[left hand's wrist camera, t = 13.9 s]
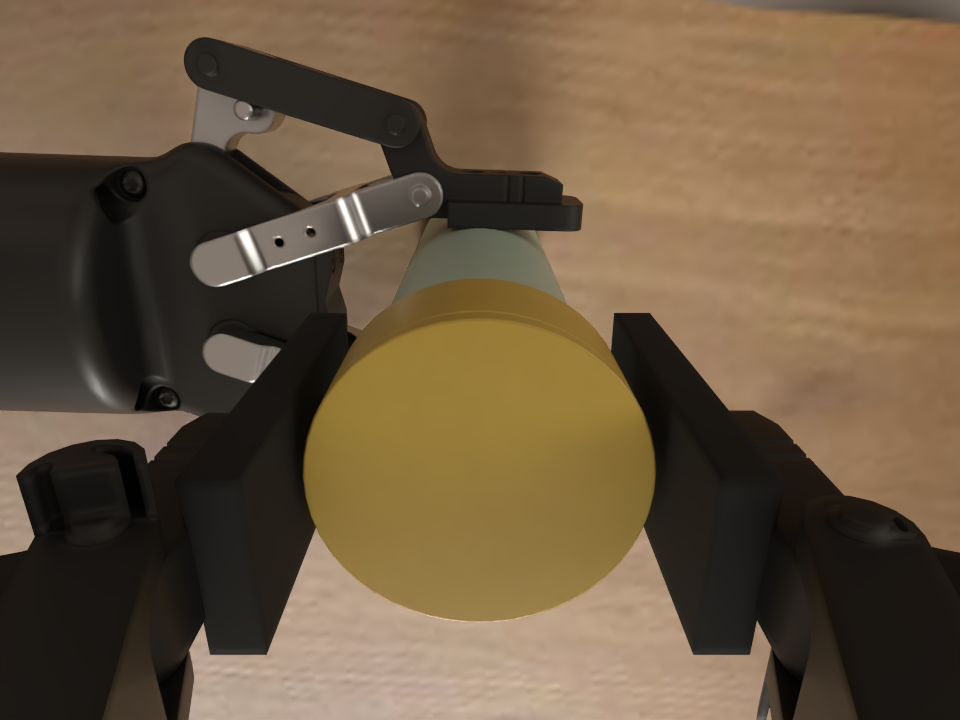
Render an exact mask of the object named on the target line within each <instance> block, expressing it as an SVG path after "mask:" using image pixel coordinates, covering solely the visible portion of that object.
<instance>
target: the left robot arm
mask: <svg viewBox="0 0 960 720" xmlns="http://www.w3.org/2000/svg"><path fill="white" fill-rule="evenodd" d="M348 351H349V347H348V334H347V322H346V313H310V314H309V315H308V317H307V318H306V319H305V320H304V321H303V323H302V324H301V325H300V326H299V328H298V329H297V330H296V331H295V333H294V334H293V335H292V336H291V337H290V339H289V340H288V341H287V342H286V344H285V345H284V346H283V347H282V349H281V350H280V351H279V352H278V354H277V355H276V356H275V357H274V358H273V360H272V361H271V362H270V363H269V365H268V366H267V367H266V368H265V370H264V371H263V372H262V373H261V374H260V376H259V377H258V378H257V379H256V381H255V382H254V383H253V384H252V386H251V387H250V388H249V389H248V390H247V392H246V393H245V394H244V395H243V397H242V398H241V399H240V400H239V402H238V403H237V404H236V405H235V406H234V408H233V409H232V410H231V411H230V413H206V414H204V415H202V416H200V417H199V418H197V419H195V420H193V421H192V422H190V423H188V424H186V425H184V426H183V427H182V428H181V429H180V430H179V431H178V432H177V433H176V434H175V435H174V436H173V437H172V438H171V439H170V441H169V442H168V443H167V446H164V447H163V448H162V449H161V450H160V451H159V452H158V454H157V455H156V456H155V457H154V458H155V459H154V460H151V461H150V462H149V463H147V458H146V454H145V449H144V448H143V447H141V446H140V445H138V444H137V443H135V442H131V441H126V440H120V439H110V440H94V441H89V442H84V443H79V444H74V445H70V446H68V447H65V448H62V449H59V450H56V451H53V452H50V453H48V454H46V455H44V456H42V457H41V458H39V459H37V460H35V461H33V462H31V463H29V464H28V465H27V466H26V467H25V468H24V469H23V470H22V471H21V472H20V473H18V474H17V475H16V478H17V481H18V484H19V487H20V490H21V494H22V497H23V500H24V503H25V506H26V510H27V513H28V516H29V519H30V523H31V526H32V529H33V532H34V535H35V538H34V539H33V541H32V543H31V545H30V547H29V548H28V550H26V551H22V552H17V553H12V554H7V555H2V556H0V720H188V719H189V712H190V704H191V697H192V690H193V683H194V673H193V666H192V661H191V657H190V652H189V649H190V647H191V645H192V643H193V641H194V639H195V637H196V636H197V634H198V632H199V630H200V628H201V626H202V624H203V622H204V627H205V632H206V637H207V641H208V646H209V651H210V655H267V652H268V650H269V647H270V644H271V642H272V639H273V637H274V634H275V632H276V629H277V626H278V624H279V621H280V619H281V616H282V613H283V611H284V608H285V606H286V603H287V601H288V598H289V595H290V593H291V590H292V588H293V585H294V583H295V580H296V577H297V575H298V572H299V570H300V567H301V564H302V562H303V559H304V557H305V554H306V552H307V549H308V546H309V544H310V541H311V539H312V536H313V534H314V531H315V528H316V526H315V524H314V522H313V519H312V517H311V514H310V510H309V507H308V503H307V500H306V496H305V489H304V481H303V456H304V450H305V445H306V439H307V435H308V432H309V429H310V426H311V423H312V420H313V417H314V415H315V413H316V411H317V410H318V408H319V406H320V404H321V402H322V400H323V398H324V396H325V394H326V392H327V391H328V389H329V387H330V385H331V383H332V381H333V379H334V377H335V375H336V374H337V372H338V370H339V368H340V366H341V364H342V362H343V360H344V358H345V357H346V355H347V353H348ZM611 353H612V355H613V357H614V358H615V360H616V362H617V364H618V366H619V368H620V370H621V372H622V373H623V375H624V377H625V379H626V381H627V383H628V385H629V387H630V389H631V390H632V392H633V394H634V396H635V398H636V400H637V402H638V404H639V405H640V407H641V409H642V411H643V413H644V416H645V418H646V421H647V424H648V426H649V429H650V432H651V435H652V440H653V445H654V450H655V460H656V479H655V489H654V495H653V499H652V503H651V507H650V511H649V514H648V516H647V519H646V521H645V523H644V528H645V531H646V533H647V536H648V539H649V541H650V544H651V546H652V549H653V552H654V554H655V557H656V559H657V562H658V564H659V567H660V570H661V572H662V575H663V577H664V580H665V582H666V585H667V588H668V590H669V593H670V595H671V598H672V601H673V603H674V606H675V608H676V611H677V613H678V616H679V619H680V621H681V624H682V626H683V629H684V631H685V634H686V637H687V639H688V642H689V644H690V647H691V650H692V652H693V655H750V651H751V646H752V642H753V637H754V632H755V627H756V622H757V621H758V623H759V625H760V626H761V628H762V630H763V632H764V634H765V636H766V638H767V639H768V641H769V643H770V645H771V647H772V648H771V652H770V657H769V661H768V666H767V670H766V675H765V679H764V684H763V688H762V693H761V697H760V702H759V706H758V713H757V720H766V718H767V714H768V710H769V708H770V710H771V717H772V720H960V553H959V552H953V551H948V550H943V549H938V548H934V547H931V545H930V544H929V542H928V540H927V538H926V536H925V535H924V534H923V533H922V532H921V530H920V529H919V528H918V527H917V526H916V525H915V524H914V523H913V522H912V521H910V520H909V519H907V518H906V517H904V516H903V515H901V514H900V513H898V512H896V511H895V510H892V509H890V508H888V507H885V506H883V505H880V504H878V503H876V502H873V501H869V500H865V499H861V498H856V497H852V496H844V495H843V494H842V493H841V491H840V490H839V489H838V488H837V487H836V486H835V485H834V484H833V483H832V482H831V481H830V480H829V479H828V477H827V476H826V475H825V474H824V473H823V472H822V471H821V470H820V469H819V468H818V467H817V466H816V465H815V464H814V462H813V461H812V460H811V459H810V458H806V454H805V453H804V452H803V451H802V450H801V448H800V447H799V446H798V445H797V444H794V443H793V440H792V439H791V438H790V437H789V436H788V435H787V433H786V432H785V431H784V430H783V429H782V428H781V427H780V426H779V425H778V424H776V423H775V422H773V421H771V420H769V419H767V418H766V417H764V416H762V415H760V414H758V413H757V412H755V411H729V410H728V409H727V408H726V406H725V405H724V404H723V403H722V402H721V400H720V399H719V398H718V397H717V395H716V394H715V393H714V392H713V390H712V389H711V388H710V387H709V386H708V384H707V383H706V382H705V381H704V379H703V378H702V377H701V376H700V374H699V373H698V372H697V371H696V370H695V368H694V367H693V366H692V365H691V363H690V362H689V361H688V360H687V358H686V357H685V356H684V355H683V353H682V352H681V351H680V350H679V349H678V347H677V346H676V345H675V344H674V342H673V341H672V340H671V339H670V337H669V336H668V335H667V334H666V333H665V331H664V330H663V329H662V328H661V326H660V325H659V324H658V323H657V321H656V320H655V319H654V318H653V317H652V315H651V314H650V313H614V322H613V335H612V347H611Z"/></svg>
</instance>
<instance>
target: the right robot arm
mask: <svg viewBox="0 0 960 720" xmlns="http://www.w3.org/2000/svg"><path fill="white" fill-rule="evenodd" d="M184 65H185V69H186V72H187V74H188V76H189V78H190V79H191V80H192V81H193V82H194V83H195V84H196V85H197V86H198V90H197V98H196V106H195V114H194V122H193V130H192V138H191V142H189V143H184V144H181V145H179V146H177V147H175V148H173V149H172V150H170V151H169V152H167V153H165V154H163V155H161V156H158V157H122V156H92V155H62V154H32V153H2V152H0V410H10V411H43V412H79V413H114V414H142V413H152V412H161V411H173V410H178V411H184V412H188V413H192V414H195V415H197V416H202V415H204V414H206V413H230V411H231V410H232V409H233V408H234V406H235V405H236V404H237V403H238V402H239V400H240V399H241V398H242V397H243V395H244V394H245V393H246V392H247V390H248V389H249V388H250V387H251V386H252V384H253V383H254V382H255V381H256V379H257V378H258V377H259V376H260V374H261V373H262V372H263V371H264V370H265V368H266V367H267V366H268V365H269V363H270V362H271V361H272V360H273V358H274V357H275V356H276V355H277V354H278V352H279V351H280V350H281V349H282V347H283V346H284V345H285V344H286V342H287V341H288V340H289V339H290V337H291V336H292V335H293V334H294V333H295V331H296V330H297V329H298V328H299V326H300V325H301V324H302V323H303V321H304V320H305V319H306V318H307V317H308V315H309V314H310V313H346V322H347V309H346V306H345V303H344V300H343V296H342V293H341V290H340V287H339V282H340V278H341V274H342V269H343V265H344V246H347V245H350V244H353V243H356V242H358V241H361V240H363V239H365V238H367V237H369V236H371V235H374V234H377V233H380V232H384V231H387V230H390V229H393V228H396V227H400V226H403V225H406V224H409V223H412V222H416V221H419V220H422V219H425V218H446V219H447V228H486V229H505V230H537V231H578V230H581V222H582V211H583V203H582V202H581V201H579V200H578V199H577V198H576V197H573V196H565V195H562V192H563V184H562V183H561V182H560V181H559V180H558V179H556V178H554V177H551V176H549V175H547V174H545V173H543V172H540V171H505V170H477V169H456V168H453V167H450V166H448V165H447V164H445V163H444V162H443V161H442V160H441V159H440V158H439V157H438V155H437V153H436V151H435V149H434V146H433V143H432V140H431V137H430V134H429V131H428V128H427V119H426V114H425V112H424V110H423V108H422V107H421V106H420V105H419V104H418V103H417V102H415V101H413V100H410V99H407V98H404V97H401V96H398V95H395V94H392V93H388V92H385V91H382V90H379V89H376V88H373V87H370V86H367V85H364V84H360V83H357V82H354V81H351V80H348V79H345V78H342V77H339V76H335V75H332V74H329V73H326V72H323V71H320V70H317V69H314V68H310V67H307V66H304V65H301V64H298V63H295V62H292V61H289V60H285V59H282V58H279V57H276V56H273V55H270V54H267V53H264V52H260V51H257V50H254V49H251V48H248V47H245V46H241V45H236V44H233V43H229V42H225V41H220V40H216V39H212V38H207V37H203V38H198V39H196V40H194V41H192V42H191V43H190V44H189V46H188V47H187V49H186V51H185V54H184ZM285 115H288V116H291V117H294V118H298V119H301V120H304V121H307V122H311V123H314V124H317V125H320V126H323V127H327V128H330V129H333V130H336V131H339V132H343V133H346V134H349V135H352V136H356V137H359V138H362V139H365V140H368V141H372V142H375V143H378V144H381V147H382V149H383V152H384V155H385V157H386V160H387V163H388V166H389V168H390V171H391V174H392V175H389V176H386V177H383V178H380V179H377V180H374V181H370V182H366V183H362V184H358V185H355V186H352V187H349V188H346V189H343V190H340V191H336V192H333V193H330V194H327V195H324V196H321V197H318V198H315V199H312V200H309V201H308V200H306V199H305V198H304V197H302V196H301V195H299V194H298V193H297V192H295V191H294V190H293V189H291V188H290V187H289V186H287V185H286V184H284V183H283V182H282V181H280V180H279V179H278V178H276V177H275V176H273V175H272V174H271V173H269V172H268V171H267V170H265V169H264V168H263V167H261V166H260V165H258V164H257V163H256V162H254V161H253V160H252V159H250V158H249V157H248V156H246V155H245V154H243V153H242V152H241V151H239V150H238V149H237V144H238V142H239V140H240V139H241V138H242V137H243V136H244V135H245V134H247V133H252V134H259V133H267V132H272V131H274V130H276V129H277V128H279V127H280V125H281V124H282V122H283V120H284V117H285ZM361 332H362V330H359V329H356V328H354V327H351V326H348V325H347V334H348V347H349V349H350V347H351V346H352V344H353V343H354V341H355V340H356V339H357V337H358V336H359V334H360V333H361Z"/></svg>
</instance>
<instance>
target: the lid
mask: <svg viewBox="0 0 960 720" xmlns="http://www.w3.org/2000/svg"><path fill="white" fill-rule="evenodd" d="M655 479H656V460H655V450H654V445H653V440H652V435H651V432H650V429H649V426H648V424H647V421H646V418H645V416H644V413H643V411H642V409H641V407H640V405H639V404H638V402H637V400H636V398H635V396H634V394H633V392H632V390H631V389H630V387H629V385H628V383H627V381H626V379H625V377H624V375H623V373H622V372H621V370H620V368H619V366H618V364H617V362H616V360H615V358H614V357H613V355H612V353H611V351H610V349H609V348H608V346H607V344H606V342H605V341H604V340H603V339H602V337H601V336H600V335H599V333H598V332H597V331H596V329H595V328H594V327H593V326H592V325H591V324H590V323H589V322H588V321H587V320H586V319H585V318H584V317H583V316H582V315H581V314H579V313H578V312H577V311H575V310H574V309H573V308H571V307H570V306H569V305H567V304H566V303H564V302H562V301H561V300H559V299H557V298H555V297H553V296H552V295H550V294H548V293H546V292H543V291H541V290H538V289H535V288H533V287H530V286H527V285H523V284H519V283H515V282H511V281H506V280H497V279H488V278H484V279H461V280H454V281H447V282H443V283H440V284H436V285H432V286H429V287H426V288H423V289H421V290H418V291H416V292H414V293H411V294H409V295H407V296H405V297H404V298H402V299H400V300H398V301H397V302H395V303H393V304H392V305H390V306H389V307H388V308H386V309H385V310H384V311H382V312H381V313H380V314H379V315H377V316H376V317H375V318H374V319H373V320H372V321H371V322H370V323H369V324H368V325H367V326H366V327H365V328H364V329H363V330H362V332H361V333H360V334H359V336H358V337H357V339H356V340H355V341H354V343H353V344H352V346H351V347H350V349H349V351H348V353H347V355H346V357H345V358H344V360H343V362H342V364H341V366H340V368H339V370H338V372H337V374H336V375H335V377H334V379H333V381H332V383H331V385H330V387H329V389H328V391H327V392H326V394H325V396H324V398H323V400H322V402H321V404H320V406H319V408H318V410H317V411H316V413H315V415H314V417H313V420H312V423H311V426H310V429H309V432H308V435H307V439H306V445H305V450H304V456H303V481H304V489H305V496H306V500H307V503H308V507H309V510H310V514H311V517H312V519H313V522H314V524H315V526H316V528H317V530H318V533H319V535H320V536H321V538H322V539H323V541H324V543H325V544H326V546H327V547H328V549H329V551H330V552H331V553H332V554H333V556H334V557H335V558H336V559H337V560H338V562H339V563H340V564H341V565H342V566H343V567H344V568H345V569H346V570H347V571H348V572H349V573H350V574H351V575H352V576H353V577H354V578H355V579H357V580H358V581H359V582H360V583H362V584H363V585H365V586H366V587H367V588H369V589H370V590H371V591H373V592H374V593H376V594H378V595H380V596H381V597H383V598H385V599H387V600H388V601H390V602H392V603H394V604H397V605H399V606H401V607H404V608H406V609H408V610H411V611H414V612H417V613H421V614H424V615H427V616H431V617H436V618H441V619H446V620H452V621H462V622H497V621H506V620H514V619H518V618H523V617H528V616H532V615H535V614H538V613H541V612H545V611H548V610H551V609H553V608H555V607H558V606H560V605H562V604H564V603H566V602H569V601H571V600H573V599H574V598H576V597H578V596H579V595H581V594H583V593H584V592H586V591H588V590H589V589H590V588H592V587H593V586H594V585H596V584H597V583H598V582H600V581H601V580H602V579H604V578H605V577H606V576H607V575H608V574H609V573H610V572H611V571H612V570H613V569H614V568H615V567H616V566H617V565H618V564H619V563H620V562H621V560H622V559H623V558H624V557H625V555H626V554H627V553H628V552H629V550H630V549H631V548H632V546H633V544H634V543H635V541H636V539H637V538H638V536H639V534H640V532H641V531H642V528H643V526H644V523H645V521H646V519H647V516H648V514H649V511H650V507H651V503H652V499H653V495H654V489H655Z"/></svg>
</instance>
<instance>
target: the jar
mask: <svg viewBox="0 0 960 720" xmlns="http://www.w3.org/2000/svg"><path fill="white" fill-rule="evenodd" d="M484 278H488V279H497V280H506V281H511V282H515V283H519V284H523V285H527V286H530V287H533V288H535V289H538V290H541V291H543V292H546V293H548V294H550V295H552V296H553V297H555V298H557V299H559V300H561V301H562V302H564V303H566V300H565V298H564V296H563V293H562V291H561V289H560V287H559V284H558V282H557V280H556V277H555V275H554V273H553V271H552V268H551V266H550V264H549V261H548V259H547V257H546V255H545V252H544V250H543V248H542V245H541V243H540V241H539V239H538V236H537V234H536V232H535V230H505V229H486V228H447V219H446V218H431V219H430V220H429V222H428V224H427V226H426V228H425V230H424V232H423V234H422V237H421V239H420V241H419V243H418V246H417V248H416V250H415V253H414V255H413V257H412V259H411V262H410V264H409V266H408V268H407V271H406V273H405V275H404V278H403V280H402V282H401V284H400V287H399V289H398V291H397V294H396V296H395V298H394V300H393V303H395V302H397V301H398V300H400V299H402V298H404V297H405V296H407V295H409V294H411V293H414V292H416V291H418V290H421V289H423V288H426V287H429V286H432V285H436V284H440V283H443V282H447V281H454V280H461V279H484ZM393 303H392V304H393ZM566 304H567V303H566Z"/></svg>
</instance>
